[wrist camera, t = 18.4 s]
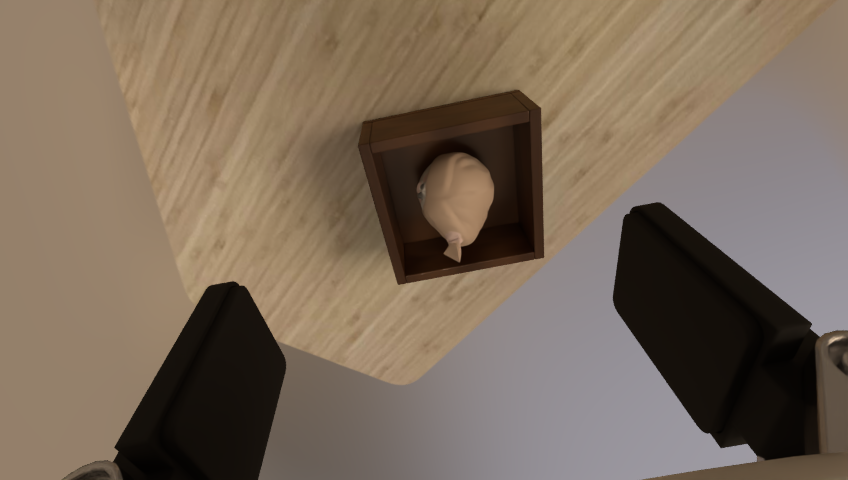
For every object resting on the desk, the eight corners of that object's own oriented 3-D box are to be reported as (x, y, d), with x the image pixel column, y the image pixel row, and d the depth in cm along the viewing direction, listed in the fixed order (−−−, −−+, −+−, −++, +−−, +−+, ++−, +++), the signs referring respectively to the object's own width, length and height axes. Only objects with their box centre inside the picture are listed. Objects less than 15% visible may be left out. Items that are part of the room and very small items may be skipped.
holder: (397, 248, 38) (397, 285, 34) (362, 121, 32) (357, 145, 27) (525, 224, 38) (544, 257, 33) (518, 89, 31) (541, 108, 26)
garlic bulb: (398, 186, 34) (400, 235, 28) (445, 128, 32) (459, 166, 25) (456, 225, 37) (470, 278, 30) (503, 173, 34) (531, 219, 28)
